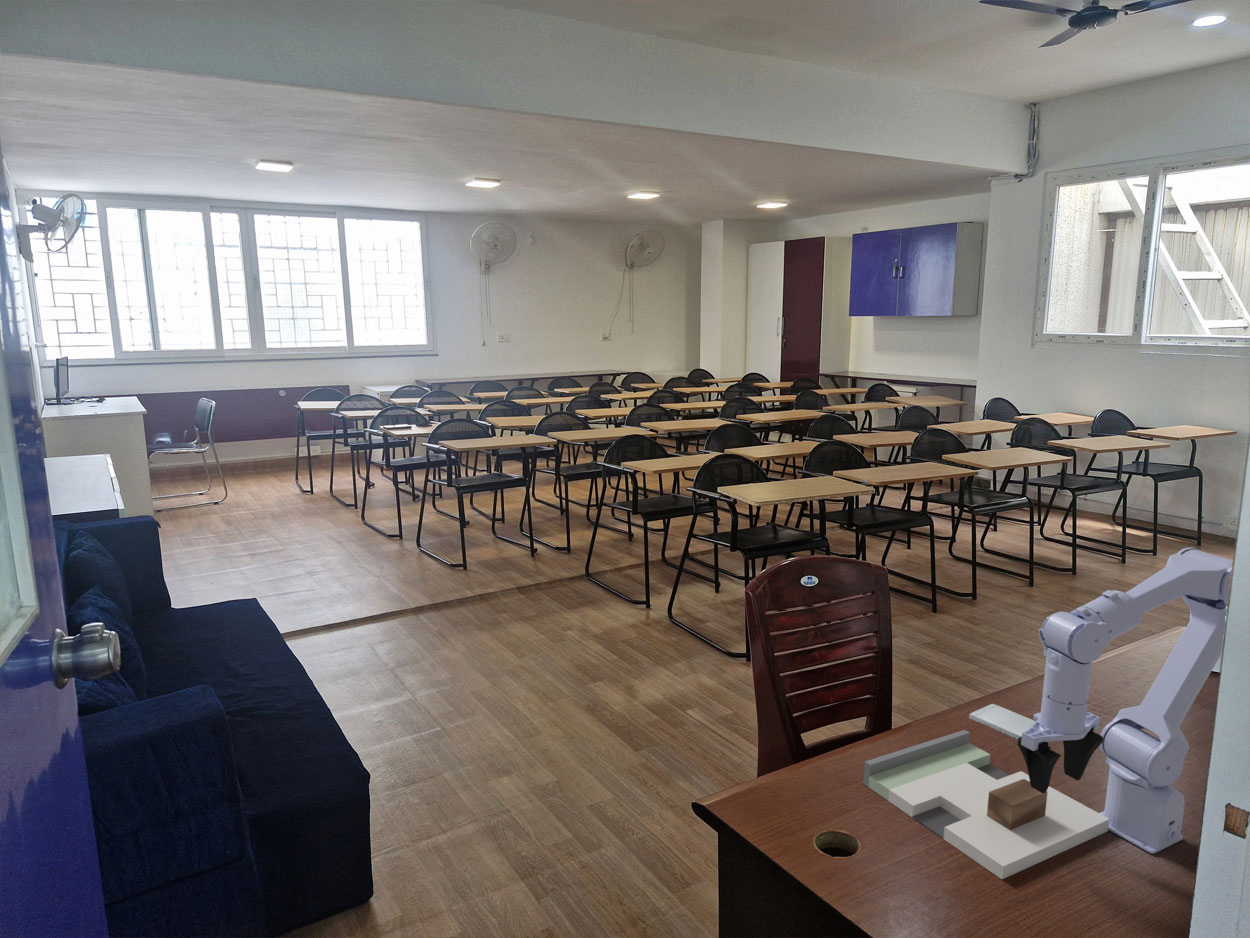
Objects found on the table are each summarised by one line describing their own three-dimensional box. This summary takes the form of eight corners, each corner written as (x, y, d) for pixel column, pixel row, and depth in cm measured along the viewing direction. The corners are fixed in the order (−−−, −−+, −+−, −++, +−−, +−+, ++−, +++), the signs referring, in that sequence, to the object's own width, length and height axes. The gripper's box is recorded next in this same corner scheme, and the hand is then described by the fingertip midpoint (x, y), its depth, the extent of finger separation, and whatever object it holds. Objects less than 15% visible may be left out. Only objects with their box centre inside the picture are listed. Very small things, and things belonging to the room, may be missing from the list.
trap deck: (1108, 831, 121) (1111, 807, 121) (1001, 879, 110) (1004, 853, 110) (962, 750, 145) (964, 729, 144) (863, 783, 134) (864, 761, 133)
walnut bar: (1045, 815, 122) (1047, 791, 121) (1009, 830, 118) (1012, 805, 117) (1021, 802, 125) (1023, 778, 125) (986, 815, 122) (989, 791, 121)
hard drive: (1054, 727, 151) (993, 702, 161) (1030, 740, 146) (969, 712, 157) (1053, 736, 151) (992, 709, 161) (1029, 748, 147) (968, 720, 157)
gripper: (1071, 676, 122) (1062, 758, 124) (1006, 694, 115) (998, 781, 117) (1117, 695, 115) (1107, 781, 118) (1051, 715, 109) (1041, 806, 111)
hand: (1055, 783), depth 117 cm, fingers open, 7 cm apart
